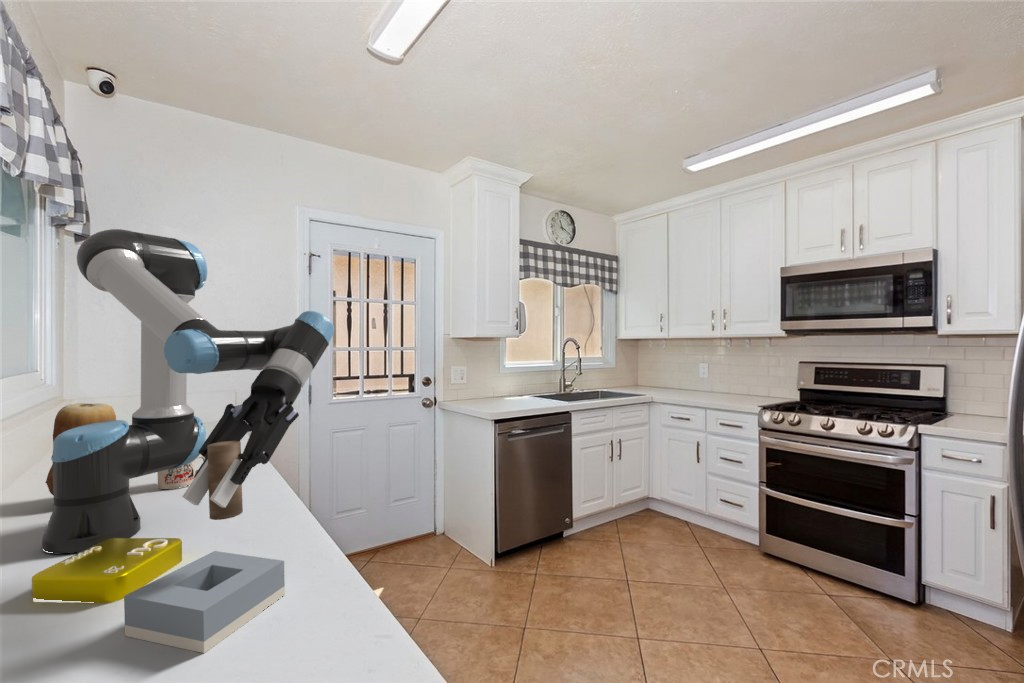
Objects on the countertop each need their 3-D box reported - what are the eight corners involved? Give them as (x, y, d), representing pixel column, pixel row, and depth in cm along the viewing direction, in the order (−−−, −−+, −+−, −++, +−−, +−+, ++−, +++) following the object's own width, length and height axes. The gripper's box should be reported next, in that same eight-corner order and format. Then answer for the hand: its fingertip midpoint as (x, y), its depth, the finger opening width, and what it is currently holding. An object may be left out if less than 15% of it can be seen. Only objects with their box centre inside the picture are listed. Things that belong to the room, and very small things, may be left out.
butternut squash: (114, 502, 118) (112, 404, 118) (40, 514, 110) (38, 409, 110) (121, 488, 129) (119, 398, 129) (54, 498, 122) (52, 403, 122)
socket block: (124, 635, 64) (124, 596, 64) (215, 583, 78) (214, 550, 78) (204, 653, 60) (203, 611, 60) (284, 595, 74) (284, 560, 74)
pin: (202, 518, 71) (200, 446, 71) (226, 508, 75) (224, 440, 75) (225, 520, 70) (223, 447, 70) (249, 510, 74) (247, 441, 74)
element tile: (110, 559, 88) (109, 534, 88) (187, 560, 87) (187, 534, 87) (24, 605, 73) (23, 575, 73) (117, 606, 72) (116, 575, 72)
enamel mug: (162, 492, 125) (161, 449, 125) (152, 486, 131) (151, 445, 131) (212, 481, 135) (211, 441, 135) (201, 476, 140) (200, 437, 140)
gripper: (333, 393, 85) (267, 517, 69) (254, 392, 89) (175, 509, 74) (312, 366, 80) (236, 493, 64) (230, 366, 84) (139, 486, 68)
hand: (203, 501), depth 69 cm, fingers closed on pin, 4 cm apart
